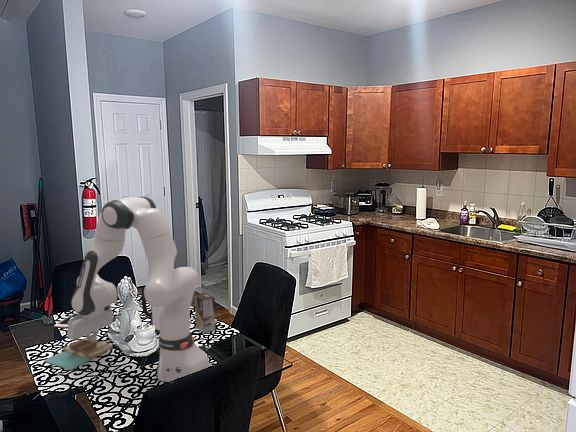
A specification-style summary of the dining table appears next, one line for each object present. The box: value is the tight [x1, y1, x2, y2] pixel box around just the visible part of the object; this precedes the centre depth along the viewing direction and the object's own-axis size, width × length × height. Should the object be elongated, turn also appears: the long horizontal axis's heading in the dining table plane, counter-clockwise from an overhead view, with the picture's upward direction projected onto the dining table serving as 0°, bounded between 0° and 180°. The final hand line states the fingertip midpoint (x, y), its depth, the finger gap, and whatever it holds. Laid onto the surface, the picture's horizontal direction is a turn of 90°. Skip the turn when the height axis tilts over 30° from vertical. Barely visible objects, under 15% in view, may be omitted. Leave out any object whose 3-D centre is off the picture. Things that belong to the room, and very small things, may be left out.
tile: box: [68, 338, 97, 353], centre depth 177 cm, size 9×6×2 cm, turn 64°
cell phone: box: [53, 312, 79, 328], centre depth 212 cm, size 9×18×1 cm, turn 172°
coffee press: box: [141, 284, 164, 331], centre depth 199 cm, size 17×16×30 cm
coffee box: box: [194, 292, 216, 334], centre depth 200 cm, size 9×6×16 cm
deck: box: [63, 337, 113, 361], centre depth 179 cm, size 16×11×2 cm
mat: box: [43, 350, 91, 371], centre depth 170 cm, size 16×9×1 cm, turn 64°
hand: (92, 341), depth 181 cm, fingers closed
